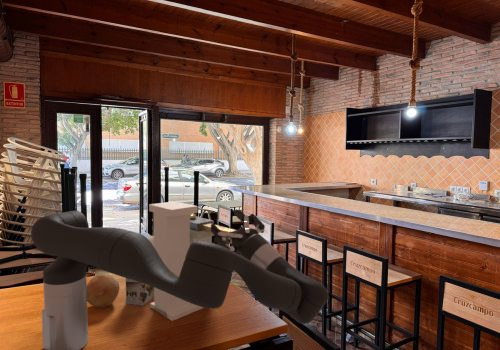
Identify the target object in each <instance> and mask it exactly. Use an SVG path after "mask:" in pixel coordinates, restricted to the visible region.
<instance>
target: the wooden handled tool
mask: <svg viewBox="0 0 500 350" xmlns="http://www.w3.org/2000/svg"><path fill="white" fill-rule="evenodd" d="M214 222H215V221H214V220H212V219H209V218H204V217H200V216H197V214H196V213H193V214H190V230H194V231H205V232H208V233H212V232H211V224H214V225H215V226H216V227H217V228H218V229H219V230H220V231H221V232H223V233H228V232H229V233H233V232H234V231H236V230H237V229H234V228H229V227H225V226H222V225H218V224H215V223H214ZM212 234H213V233H212Z"/></svg>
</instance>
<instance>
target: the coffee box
mask: <svg viewBox="0 0 500 350" xmlns="http://www.w3.org/2000/svg"><path fill="white" fill-rule="evenodd" d="M153 298H154V287H152V286H150V285H147V284H144V283H141V282H138V281H135V280H131V279H128V278H125V304H127V305H136V306H141V307H143V306H145V305H146V304H147V303H149V302H150V300H152V299H153Z"/></svg>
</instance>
